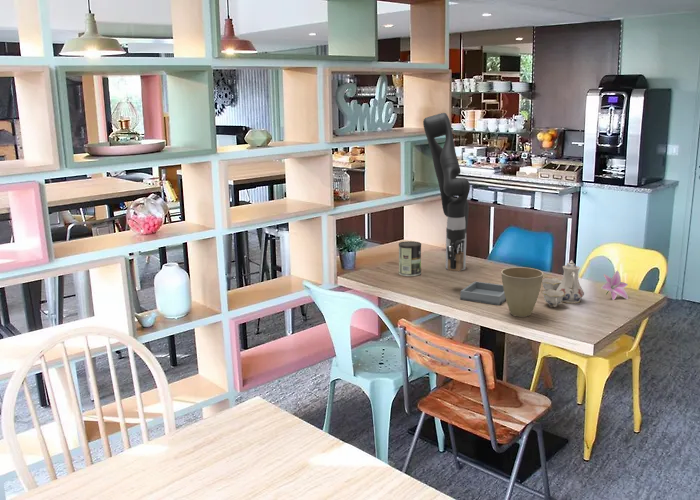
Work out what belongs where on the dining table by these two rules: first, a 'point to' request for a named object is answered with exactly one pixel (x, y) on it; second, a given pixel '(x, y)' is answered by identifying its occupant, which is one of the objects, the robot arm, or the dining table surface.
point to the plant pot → (521, 289)
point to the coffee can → (409, 258)
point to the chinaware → (563, 287)
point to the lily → (615, 286)
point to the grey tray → (483, 293)
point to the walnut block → (458, 262)
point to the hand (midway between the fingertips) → (455, 266)
